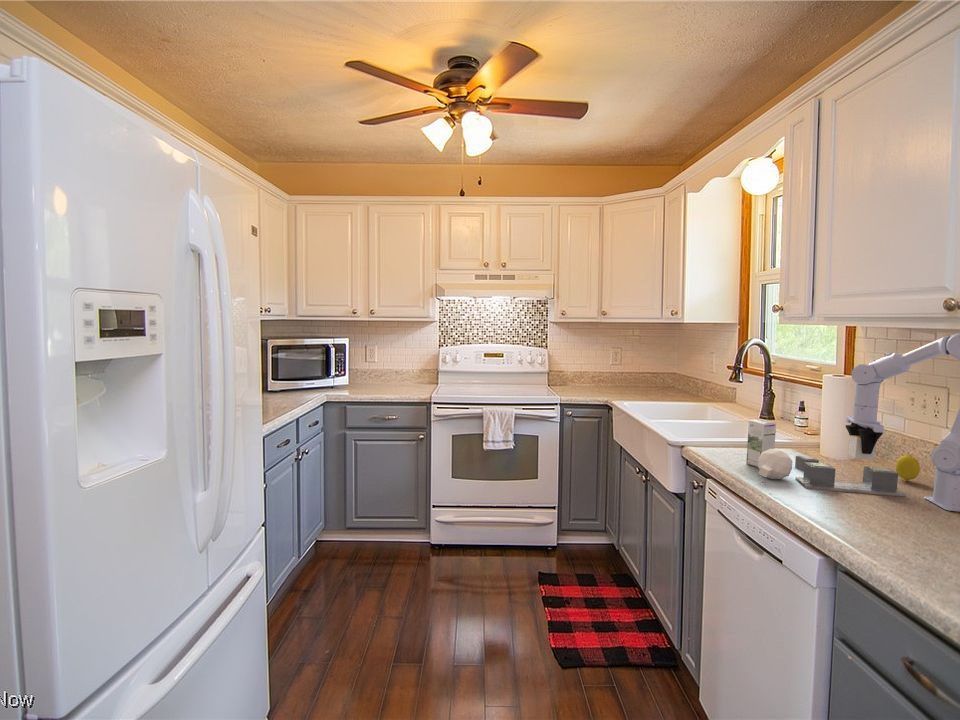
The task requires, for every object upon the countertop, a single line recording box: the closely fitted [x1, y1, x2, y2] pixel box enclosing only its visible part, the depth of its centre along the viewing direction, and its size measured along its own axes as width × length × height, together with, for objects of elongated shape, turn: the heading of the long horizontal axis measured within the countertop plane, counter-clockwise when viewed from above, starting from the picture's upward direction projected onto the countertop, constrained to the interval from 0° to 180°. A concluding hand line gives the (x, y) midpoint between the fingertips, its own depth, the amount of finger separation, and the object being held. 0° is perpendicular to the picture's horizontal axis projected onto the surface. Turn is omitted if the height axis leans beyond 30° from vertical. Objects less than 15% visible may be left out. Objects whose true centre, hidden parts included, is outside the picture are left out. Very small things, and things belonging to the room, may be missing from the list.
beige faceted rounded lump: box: [757, 448, 793, 480], centre depth 152 cm, size 9×9×12 cm
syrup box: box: [746, 418, 777, 468], centre depth 166 cm, size 6×6×14 cm
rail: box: [794, 462, 907, 498], centre depth 146 cm, size 8×24×6 cm, turn 77°
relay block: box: [794, 455, 820, 473], centre depth 163 cm, size 5×4×4 cm
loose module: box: [847, 435, 877, 461], centre depth 153 cm, size 4×5×6 cm
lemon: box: [895, 454, 921, 482], centre depth 153 cm, size 6×6×8 cm
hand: (861, 451), depth 154 cm, fingers closed on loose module, 4 cm apart
